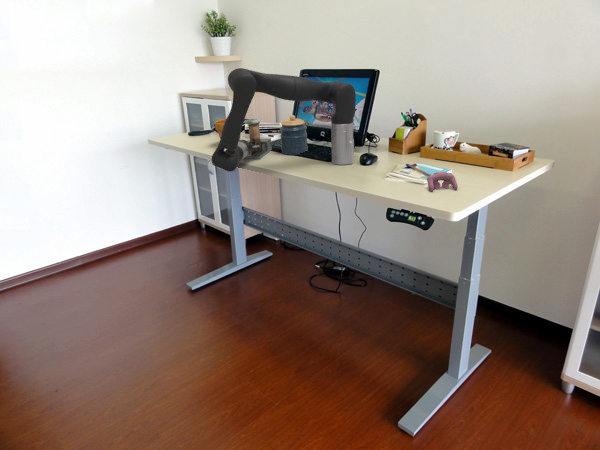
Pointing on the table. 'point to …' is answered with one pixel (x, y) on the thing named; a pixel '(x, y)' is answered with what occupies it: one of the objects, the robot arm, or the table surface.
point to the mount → (264, 150)
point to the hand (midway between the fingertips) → (253, 141)
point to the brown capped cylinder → (254, 132)
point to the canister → (293, 136)
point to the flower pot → (220, 126)
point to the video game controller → (443, 176)
